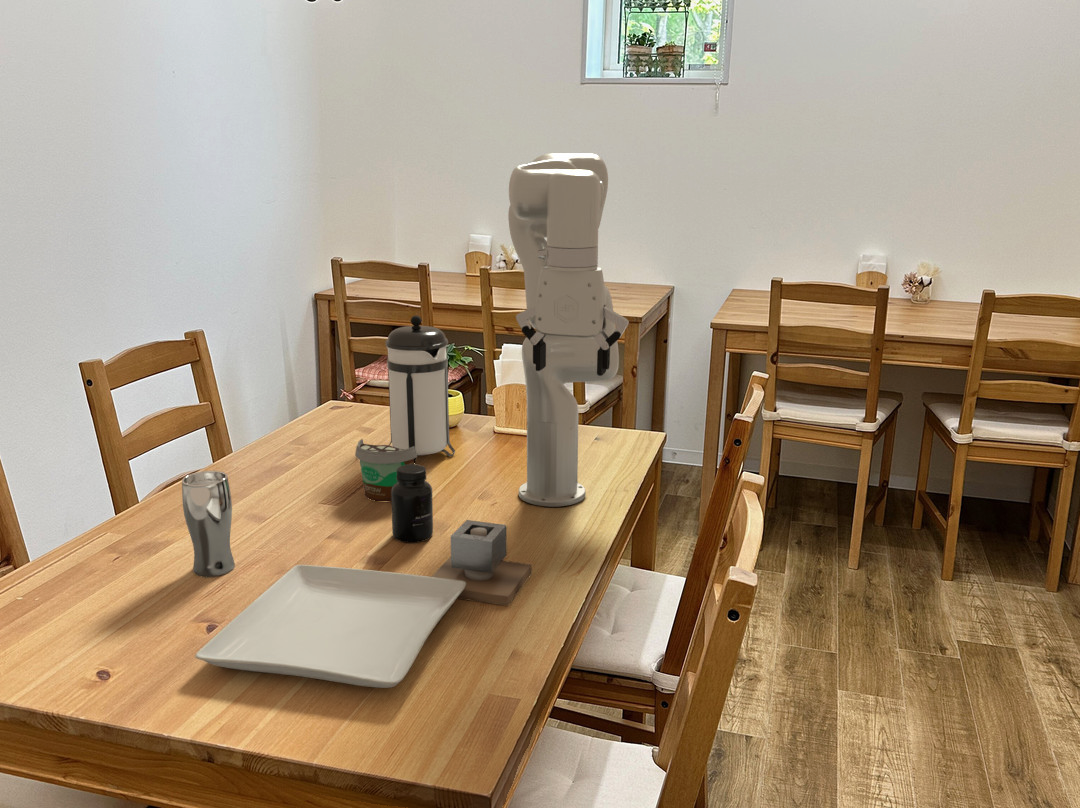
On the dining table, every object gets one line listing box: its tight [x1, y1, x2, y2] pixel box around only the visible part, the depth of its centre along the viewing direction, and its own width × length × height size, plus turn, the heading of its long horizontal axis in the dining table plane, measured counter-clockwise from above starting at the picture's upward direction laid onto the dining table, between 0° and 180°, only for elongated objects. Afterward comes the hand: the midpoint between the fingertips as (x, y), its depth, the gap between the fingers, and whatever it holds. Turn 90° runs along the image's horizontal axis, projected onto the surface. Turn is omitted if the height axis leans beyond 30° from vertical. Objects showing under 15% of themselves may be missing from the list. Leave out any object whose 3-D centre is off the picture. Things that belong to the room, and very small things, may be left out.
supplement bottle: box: [390, 463, 434, 544], centre depth 153 cm, size 7×7×12 cm
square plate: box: [195, 564, 466, 689], centre depth 122 cm, size 27×27×4 cm
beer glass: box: [181, 470, 236, 578], centre depth 140 cm, size 7×7×15 cm
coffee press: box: [385, 315, 456, 464], centre depth 192 cm, size 17×16×30 cm
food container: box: [354, 438, 418, 502], centre depth 170 cm, size 12×6×10 cm, turn 68°
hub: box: [450, 519, 508, 573], centre depth 136 cm, size 6×6×5 cm
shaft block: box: [430, 527, 533, 607], centre depth 136 cm, size 11×13×8 cm
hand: (570, 371), depth 139 cm, fingers open, 9 cm apart
